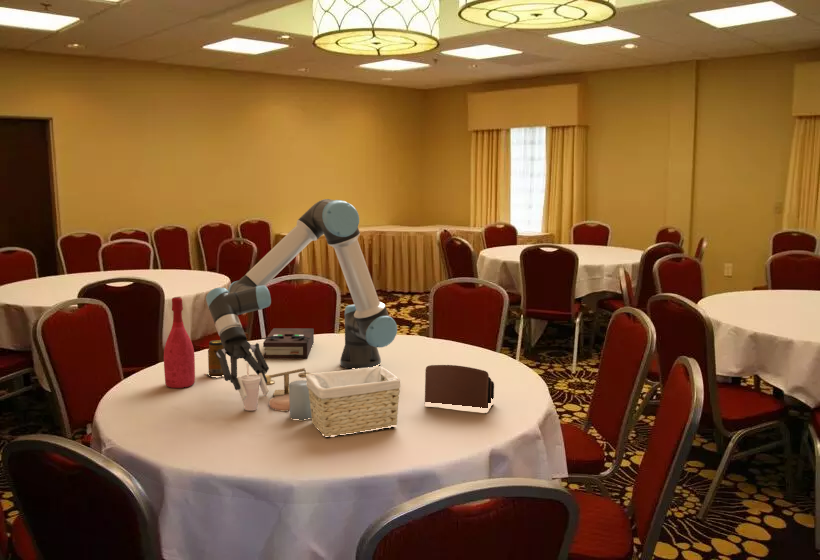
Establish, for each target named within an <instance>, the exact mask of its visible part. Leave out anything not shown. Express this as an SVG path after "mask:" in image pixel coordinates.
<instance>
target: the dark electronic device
mask: <svg viewBox="0 0 820 560" xmlns="http://www.w3.org/2000/svg"><path fill="white" fill-rule="evenodd" d="M314 331H315V330H314V328H312V327H311V328H310V327H309V328H306V327H305V328H298V327H297V328H296V327H295V328H290V327H289V328H285V327H284V328H282V327H281V328H279V327H278V328H277V327H275V328H274V327H273V329H271V330H270V333H268V335H267V336H266V337H261V340H264V341H263V344H262V345H263V348H264V349H263V351H265V352H264V354H263V357H264V359H265V360H266V359H267V360H268V359H271V360H272V359H276V360H277V359H278V360H279V359H280V360H281V359H283V360H284V359H285V360H286V359H290V360H291V359H292V360H293V359H297V360H298V359H300V360H301V359H302V360H303V359H305V360H307V359H308V358H309V355H310V353H311V351H312V349H311V348H313V346H314V344H313V343H314V340H315V339H314V338H315V336H314V335H315V334H314V333H315V332H314ZM312 345H313V346H312Z"/></svg>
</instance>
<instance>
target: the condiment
mask: <svg viewBox="0 0 820 560" xmlns="http://www.w3.org/2000/svg"><path fill="white" fill-rule="evenodd" d="M218 349H221V350H222V349H224V347H223V345H222V342H221V340H220V339H219V340H218V339H217V340H215V339H214V340H210V341H209V343H208V350H207V357H208V358H207V362H208V366H207V367H208V373H209V375H210V376H208V377H209V378H211V376H222V375H223V371H222V368H221V364H220V361H219V359H218V357H217V356H216V353H217V351H218ZM225 356H226V357H227V354H226V353H225ZM211 379H216V377H212V378H211ZM218 379H222V378H221V377H219V378H218Z"/></svg>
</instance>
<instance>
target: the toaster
mask: <svg viewBox="0 0 820 560" xmlns="http://www.w3.org/2000/svg"><path fill="white" fill-rule="evenodd" d="M424 376H425V377H424V378H425V379H424V380H425V381H424V382H425V385H424V403H425V402H431V403H442V404H452V405H462V406H472V407H480V408H481V407H482V408H488V403H491V398H492V399H493V398H494V399H495V382H494V381H493V380H492V378H491V377H489V376H490V375H489V373H488V371H486V370H483V369H478V368H474V367H470V366H464V365H463V366H462V365H455V364H431V365H428V366H426V367H425V375H424Z"/></svg>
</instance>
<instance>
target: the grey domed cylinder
mask: <svg viewBox="0 0 820 560" xmlns="http://www.w3.org/2000/svg"><path fill="white" fill-rule="evenodd" d="M306 382H307V380H306V379H303V380H293V381H290V382H289V406H290V411H289V419H291V418H292V419H291V420H293V419H299V420H302V421H305V420H304V419H308V418H311V419H312V416H311V409H310V399H309V390H308V387H307V385H306ZM299 420H298V421H299Z"/></svg>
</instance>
